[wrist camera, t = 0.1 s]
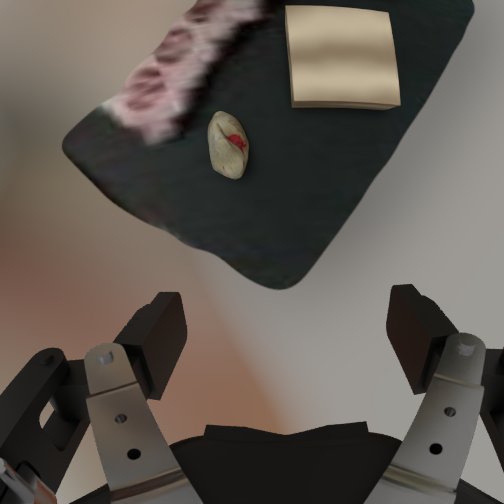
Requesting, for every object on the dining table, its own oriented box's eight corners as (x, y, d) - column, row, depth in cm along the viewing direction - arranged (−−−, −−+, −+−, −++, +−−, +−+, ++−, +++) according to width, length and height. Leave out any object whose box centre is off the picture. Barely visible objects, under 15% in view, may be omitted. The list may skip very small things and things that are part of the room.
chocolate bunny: (205, 170, 38) (182, 179, 29) (212, 111, 36) (190, 100, 26) (248, 175, 38) (238, 185, 29) (255, 114, 35) (247, 103, 26)
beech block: (285, 24, 31) (285, 5, 25) (374, 28, 30) (388, 12, 24) (291, 107, 35) (294, 100, 29) (383, 110, 34) (400, 105, 28)
